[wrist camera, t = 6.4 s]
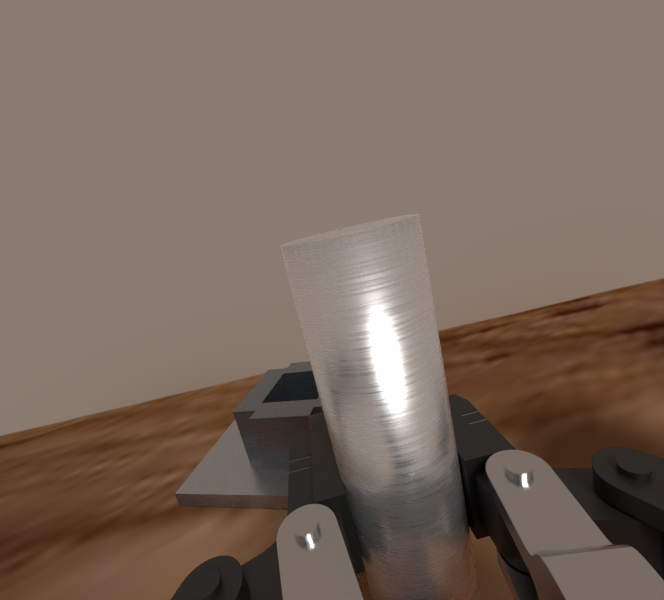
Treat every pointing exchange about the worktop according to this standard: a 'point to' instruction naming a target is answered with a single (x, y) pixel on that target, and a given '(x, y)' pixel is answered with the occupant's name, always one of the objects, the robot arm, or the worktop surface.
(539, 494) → the robot arm
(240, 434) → the chuck block
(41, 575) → the worktop surface
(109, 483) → the worktop surface
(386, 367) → the steel rod
